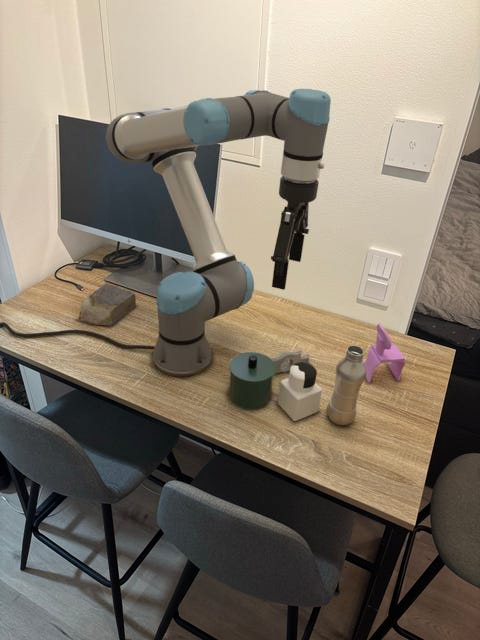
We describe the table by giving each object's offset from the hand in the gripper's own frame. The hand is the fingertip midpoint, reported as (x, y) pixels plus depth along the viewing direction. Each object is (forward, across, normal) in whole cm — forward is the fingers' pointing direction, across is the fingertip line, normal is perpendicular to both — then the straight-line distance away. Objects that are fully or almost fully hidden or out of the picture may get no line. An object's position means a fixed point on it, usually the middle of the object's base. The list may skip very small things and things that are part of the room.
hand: (286, 273), depth 107 cm
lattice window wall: (+31, +5, -3) cm, 31 cm away
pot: (+31, -8, +3) cm, 32 cm away
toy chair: (+30, +13, -26) cm, 42 cm away
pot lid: (+22, -8, +4) cm, 24 cm away
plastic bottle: (+30, -8, -18) cm, 36 cm away
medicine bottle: (+31, -8, -8) cm, 33 cm away
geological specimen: (+32, +10, +54) cm, 64 cm away
